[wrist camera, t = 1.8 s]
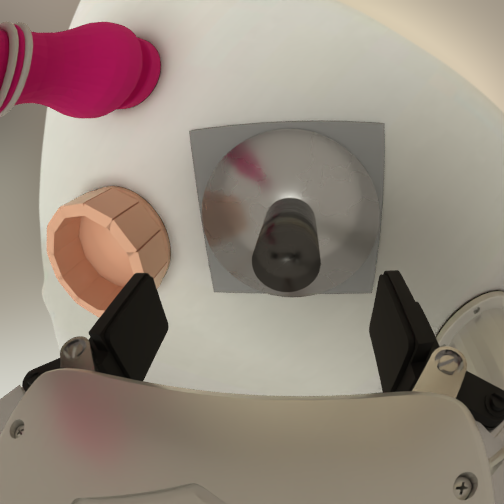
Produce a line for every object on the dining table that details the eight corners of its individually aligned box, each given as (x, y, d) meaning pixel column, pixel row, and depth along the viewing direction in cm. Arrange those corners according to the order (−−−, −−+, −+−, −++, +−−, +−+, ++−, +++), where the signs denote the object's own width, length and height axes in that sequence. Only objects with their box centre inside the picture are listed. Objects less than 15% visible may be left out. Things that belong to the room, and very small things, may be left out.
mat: (382, 123, 17) (384, 123, 17) (371, 290, 23) (371, 292, 23) (191, 130, 19) (189, 130, 19) (215, 289, 26) (214, 292, 25)
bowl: (157, 179, 22) (124, 197, 17) (181, 292, 27) (161, 326, 22) (67, 193, 24) (34, 211, 19) (96, 286, 29) (72, 312, 24)
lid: (377, 129, 17) (417, 139, 11) (367, 288, 23) (384, 348, 16) (196, 136, 19) (149, 149, 13) (218, 287, 25) (193, 344, 19)
